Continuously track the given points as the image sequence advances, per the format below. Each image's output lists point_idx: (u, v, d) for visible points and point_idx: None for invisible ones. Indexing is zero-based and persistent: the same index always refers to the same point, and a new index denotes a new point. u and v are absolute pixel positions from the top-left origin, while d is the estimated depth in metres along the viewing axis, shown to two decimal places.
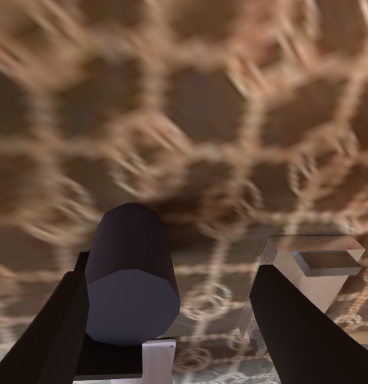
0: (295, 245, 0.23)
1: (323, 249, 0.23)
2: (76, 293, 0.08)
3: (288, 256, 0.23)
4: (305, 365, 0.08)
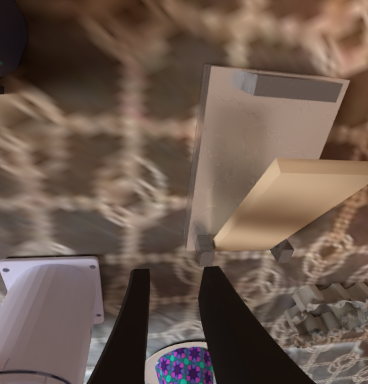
0: (242, 68, 0.15)
1: (285, 73, 0.15)
2: (149, 289, 0.09)
3: (230, 80, 0.15)
4: (232, 373, 0.07)
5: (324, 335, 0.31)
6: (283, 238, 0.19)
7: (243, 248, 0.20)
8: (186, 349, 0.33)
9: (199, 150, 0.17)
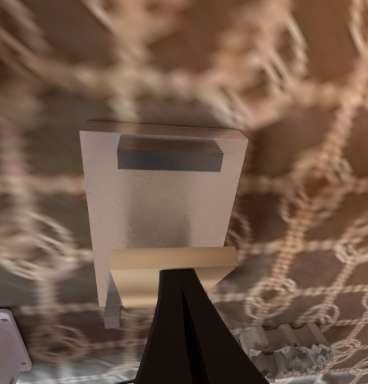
0: (123, 129, 0.13)
1: (171, 134, 0.13)
2: (181, 288, 0.09)
3: (106, 144, 0.13)
4: (196, 377, 0.07)
5: (272, 378, 0.29)
6: None
7: None
8: None
9: None
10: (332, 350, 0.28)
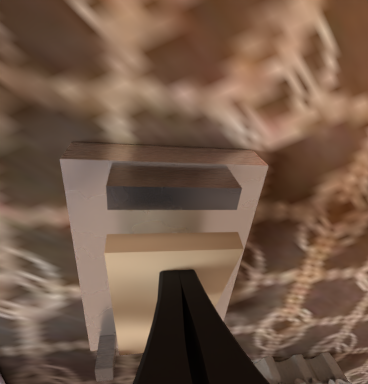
0: (115, 154, 0.11)
1: (175, 161, 0.11)
2: (181, 288, 0.09)
3: (94, 174, 0.11)
4: (196, 377, 0.07)
5: None
6: None
7: None
8: None
9: None
10: None
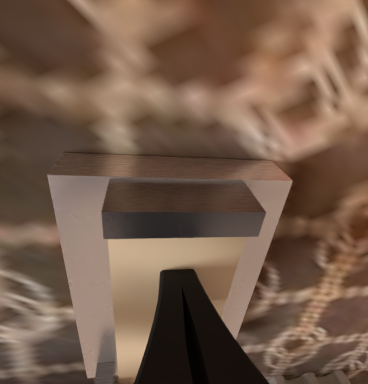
0: (114, 167, 0.09)
1: (184, 176, 0.09)
2: (181, 288, 0.09)
3: (88, 192, 0.09)
4: (196, 377, 0.07)
5: None
6: None
7: None
8: None
9: None
10: None
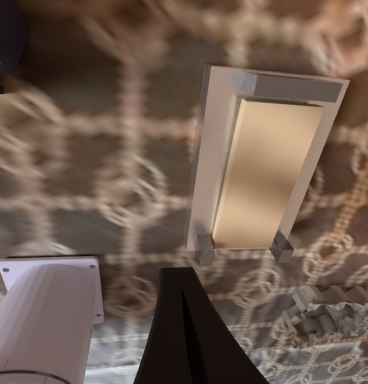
0: (242, 68, 0.15)
1: (285, 73, 0.15)
2: (181, 288, 0.09)
3: (230, 80, 0.15)
4: (196, 377, 0.07)
5: (320, 337, 0.31)
6: (278, 220, 0.19)
7: (243, 242, 0.20)
8: None
9: (199, 150, 0.17)
10: None
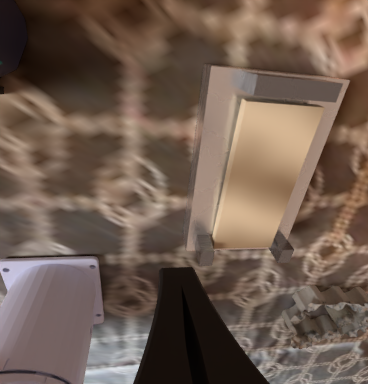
0: (242, 68, 0.15)
1: (285, 73, 0.15)
2: (181, 288, 0.09)
3: (230, 80, 0.15)
4: (196, 377, 0.07)
5: (320, 337, 0.31)
6: (278, 220, 0.19)
7: (243, 242, 0.20)
8: None
9: (199, 150, 0.17)
10: None
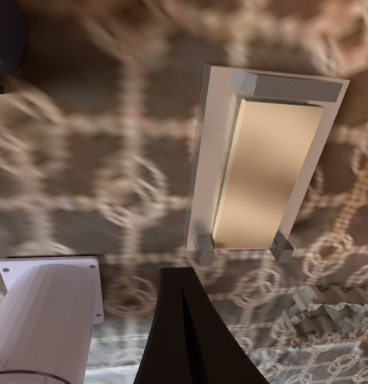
0: (242, 68, 0.15)
1: (285, 73, 0.15)
2: (181, 288, 0.09)
3: (230, 80, 0.15)
4: (196, 377, 0.07)
5: (319, 337, 0.31)
6: (278, 220, 0.19)
7: (243, 242, 0.20)
8: None
9: (199, 150, 0.17)
10: None
